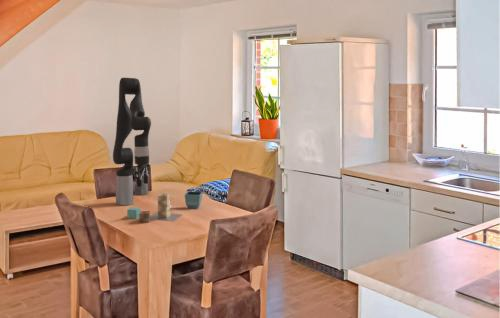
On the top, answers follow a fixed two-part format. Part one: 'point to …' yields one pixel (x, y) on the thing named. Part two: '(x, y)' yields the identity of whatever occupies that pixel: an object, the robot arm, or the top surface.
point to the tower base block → (164, 212)
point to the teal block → (133, 212)
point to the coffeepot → (140, 190)
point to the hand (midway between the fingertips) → (142, 185)
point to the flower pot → (193, 199)
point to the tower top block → (163, 200)
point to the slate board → (171, 218)
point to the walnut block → (144, 217)
